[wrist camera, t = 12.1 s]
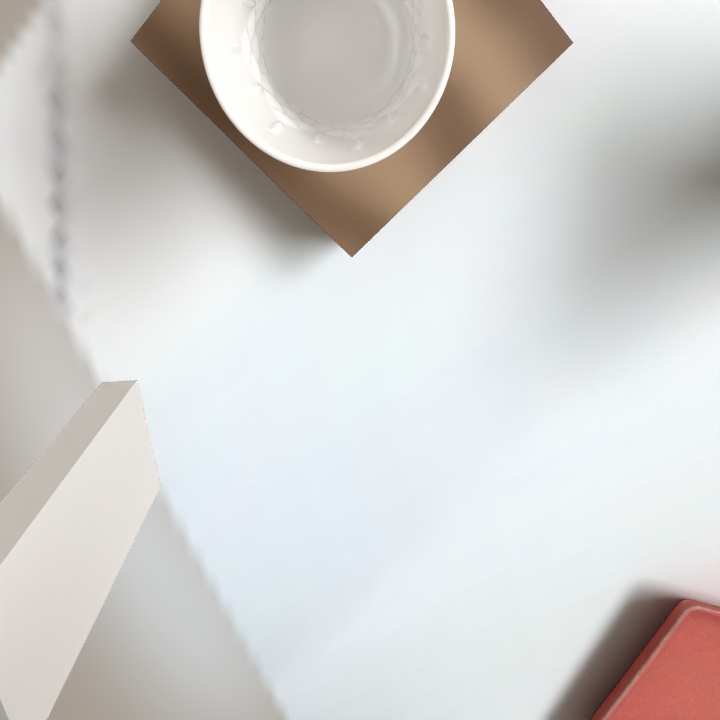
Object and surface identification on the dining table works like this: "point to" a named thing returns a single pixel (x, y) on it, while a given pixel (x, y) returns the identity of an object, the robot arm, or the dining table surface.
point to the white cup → (328, 74)
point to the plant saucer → (673, 671)
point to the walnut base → (419, 155)
